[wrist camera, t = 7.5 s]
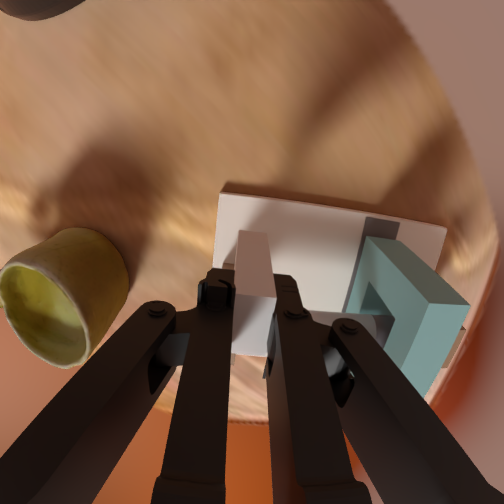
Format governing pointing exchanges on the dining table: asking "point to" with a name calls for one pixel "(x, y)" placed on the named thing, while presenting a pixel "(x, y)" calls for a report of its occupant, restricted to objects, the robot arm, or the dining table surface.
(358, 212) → the pipe rail
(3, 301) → the mug
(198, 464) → the robot arm
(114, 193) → the dining table surface
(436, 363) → the collar
